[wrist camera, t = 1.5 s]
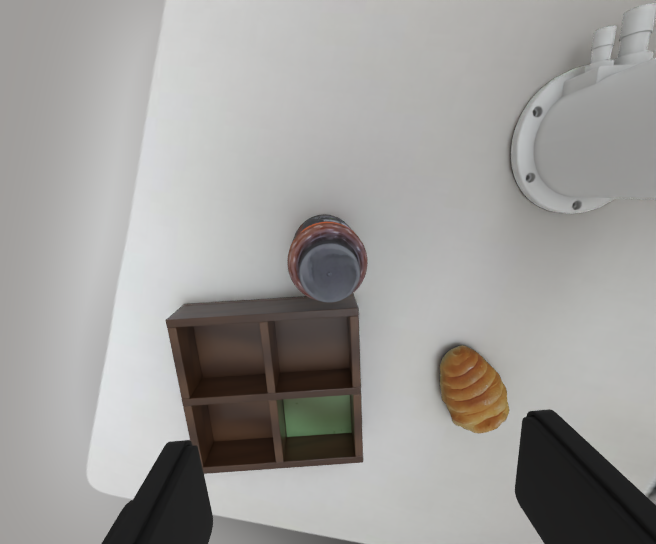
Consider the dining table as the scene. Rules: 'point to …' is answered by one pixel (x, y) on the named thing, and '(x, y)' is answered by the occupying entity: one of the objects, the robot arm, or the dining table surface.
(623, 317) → the dining table surface
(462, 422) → the pastry
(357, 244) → the supplement bottle
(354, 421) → the grid
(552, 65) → the dining table surface
